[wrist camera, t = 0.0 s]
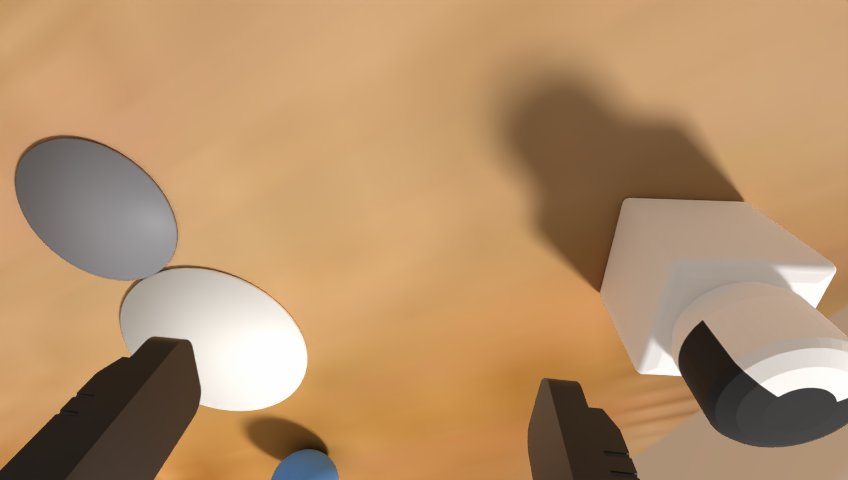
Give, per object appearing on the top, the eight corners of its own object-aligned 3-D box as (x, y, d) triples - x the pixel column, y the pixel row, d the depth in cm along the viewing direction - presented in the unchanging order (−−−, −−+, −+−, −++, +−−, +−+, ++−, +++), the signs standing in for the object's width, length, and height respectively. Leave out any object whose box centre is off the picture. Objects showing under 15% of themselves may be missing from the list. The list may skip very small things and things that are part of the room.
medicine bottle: (708, 300, 29) (852, 474, 18) (597, 295, 29) (676, 463, 19) (748, 199, 25) (954, 344, 15) (622, 195, 26) (736, 334, 15)
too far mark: (-8, 130, 26) (-11, 131, 26) (159, 146, 26) (157, 147, 26) (49, 271, 31) (46, 272, 31) (190, 285, 31) (188, 287, 31)
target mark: (99, 257, 30) (96, 259, 30) (302, 278, 30) (301, 280, 30) (145, 399, 37) (144, 401, 37) (311, 417, 37) (310, 419, 37)
